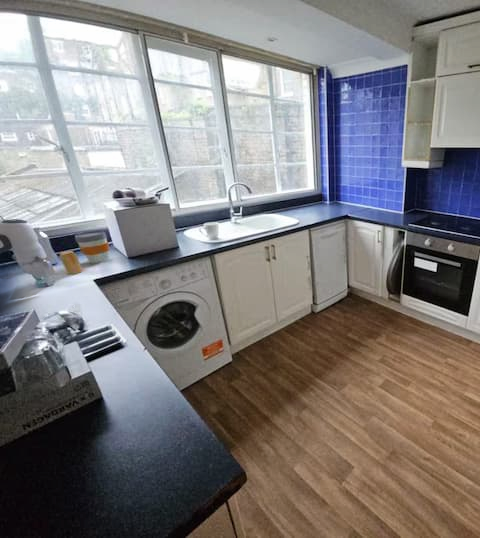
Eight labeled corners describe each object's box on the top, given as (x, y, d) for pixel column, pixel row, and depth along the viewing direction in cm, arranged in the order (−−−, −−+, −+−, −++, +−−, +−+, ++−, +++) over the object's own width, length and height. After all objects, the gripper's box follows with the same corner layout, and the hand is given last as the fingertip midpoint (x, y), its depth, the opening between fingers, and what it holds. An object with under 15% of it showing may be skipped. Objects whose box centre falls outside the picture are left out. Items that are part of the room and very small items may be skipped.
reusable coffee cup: (85, 266, 154) (73, 239, 148) (85, 260, 162) (74, 234, 157) (115, 260, 161) (105, 233, 155) (113, 254, 170) (104, 229, 164)
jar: (67, 275, 143) (57, 255, 139) (67, 272, 147) (58, 252, 143) (82, 272, 146) (74, 252, 142) (83, 268, 151) (74, 249, 146)
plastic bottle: (52, 266, 155) (35, 229, 147) (40, 266, 155) (21, 230, 147) (64, 261, 161) (47, 226, 153) (52, 262, 161) (35, 226, 153)
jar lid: (58, 282, 136) (56, 278, 135) (40, 288, 131) (38, 284, 130) (50, 280, 138) (49, 276, 138) (33, 285, 133) (31, 282, 132)
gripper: (53, 256, 128) (66, 284, 133) (29, 251, 135) (42, 278, 141) (34, 261, 123) (49, 290, 128) (10, 255, 130) (25, 283, 136)
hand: (45, 283), depth 135 cm, fingers open, 7 cm apart
